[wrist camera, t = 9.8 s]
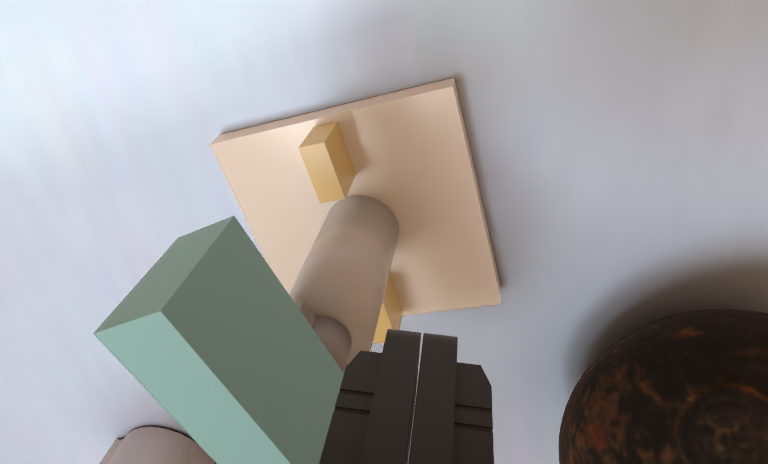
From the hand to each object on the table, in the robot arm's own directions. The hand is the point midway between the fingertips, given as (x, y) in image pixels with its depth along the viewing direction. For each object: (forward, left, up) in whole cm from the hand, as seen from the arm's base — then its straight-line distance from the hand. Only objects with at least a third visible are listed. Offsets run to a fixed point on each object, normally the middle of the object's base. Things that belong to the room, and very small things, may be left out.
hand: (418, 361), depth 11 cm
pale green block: (-7, -6, -9) cm, 13 cm away
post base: (-7, -6, -19) cm, 21 cm away
